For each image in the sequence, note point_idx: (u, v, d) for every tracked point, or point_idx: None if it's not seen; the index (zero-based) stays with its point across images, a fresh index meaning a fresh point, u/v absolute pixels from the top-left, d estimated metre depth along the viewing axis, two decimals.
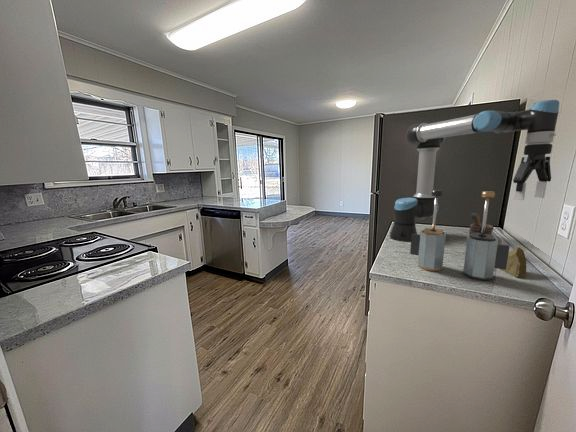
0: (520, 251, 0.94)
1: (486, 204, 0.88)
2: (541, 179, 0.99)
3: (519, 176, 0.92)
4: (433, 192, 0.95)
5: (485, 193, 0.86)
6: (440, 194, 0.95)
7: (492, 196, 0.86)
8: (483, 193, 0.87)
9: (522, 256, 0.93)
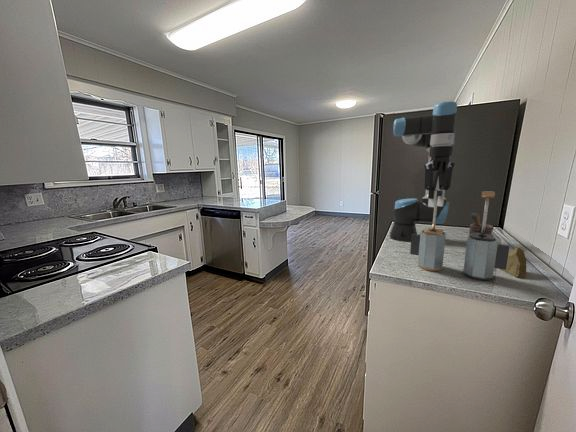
0: (520, 251, 0.94)
1: (486, 204, 0.88)
2: (440, 187, 0.97)
3: (428, 184, 0.93)
4: None
5: (485, 193, 0.86)
6: (440, 194, 0.95)
7: (492, 196, 0.86)
8: (483, 193, 0.87)
9: (522, 256, 0.93)
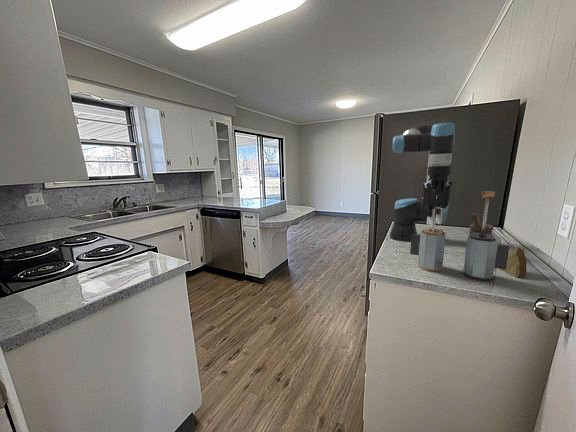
0: (520, 251, 0.94)
1: (486, 204, 0.88)
2: (438, 205, 0.98)
3: (426, 203, 0.95)
4: None
5: (485, 193, 0.86)
6: (438, 213, 0.96)
7: (492, 196, 0.86)
8: (483, 193, 0.87)
9: (522, 256, 0.93)
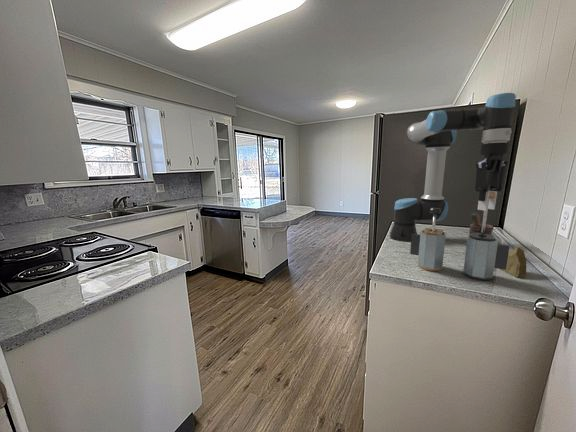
0: (520, 251, 0.94)
1: None
2: (491, 188, 0.88)
3: (480, 185, 0.84)
4: (432, 210, 0.97)
5: None
6: (438, 213, 0.96)
7: (492, 196, 0.86)
8: None
9: (522, 256, 0.93)
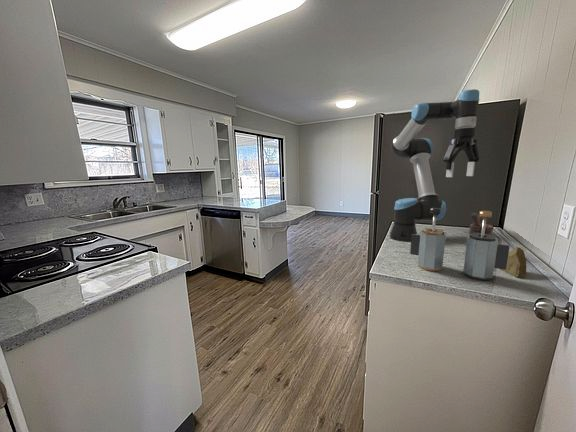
0: (520, 251, 0.94)
1: (483, 224, 0.89)
2: (471, 159, 1.13)
3: (447, 156, 1.06)
4: (432, 210, 0.97)
5: (482, 213, 0.88)
6: (438, 213, 0.96)
7: (489, 216, 0.87)
8: (480, 213, 0.88)
9: (522, 256, 0.93)
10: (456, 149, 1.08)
